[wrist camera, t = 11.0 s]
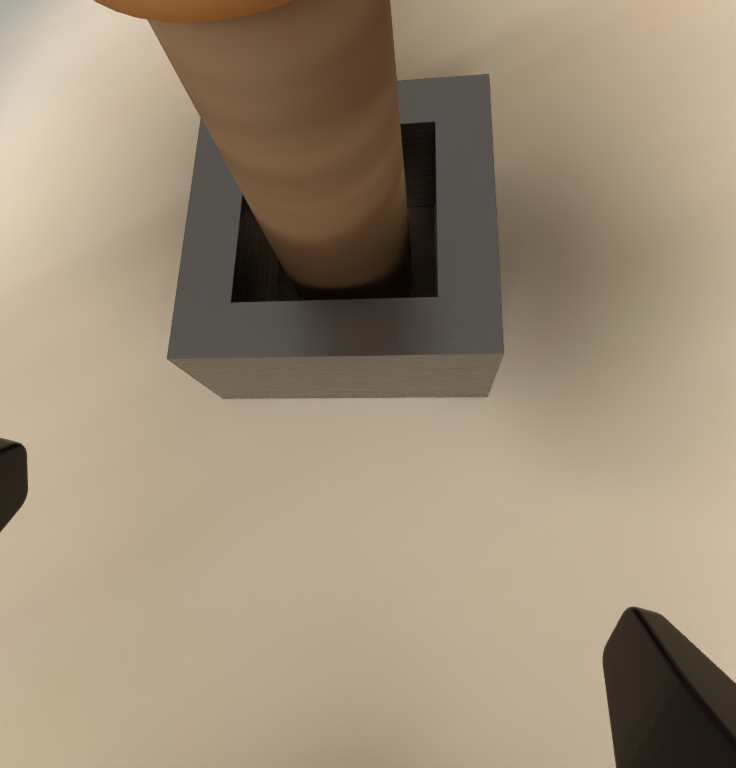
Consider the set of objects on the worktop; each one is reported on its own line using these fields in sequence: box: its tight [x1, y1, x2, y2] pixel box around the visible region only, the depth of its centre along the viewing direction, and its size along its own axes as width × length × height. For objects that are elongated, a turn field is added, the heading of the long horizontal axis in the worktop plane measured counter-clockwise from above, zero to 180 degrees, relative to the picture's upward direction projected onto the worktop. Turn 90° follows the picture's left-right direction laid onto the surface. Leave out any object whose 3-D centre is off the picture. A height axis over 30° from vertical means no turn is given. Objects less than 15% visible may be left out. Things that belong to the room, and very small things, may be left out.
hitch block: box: [167, 74, 504, 399], centre depth 17 cm, size 9×9×4 cm
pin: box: [94, 0, 413, 301], centre depth 13 cm, size 5×5×13 cm
